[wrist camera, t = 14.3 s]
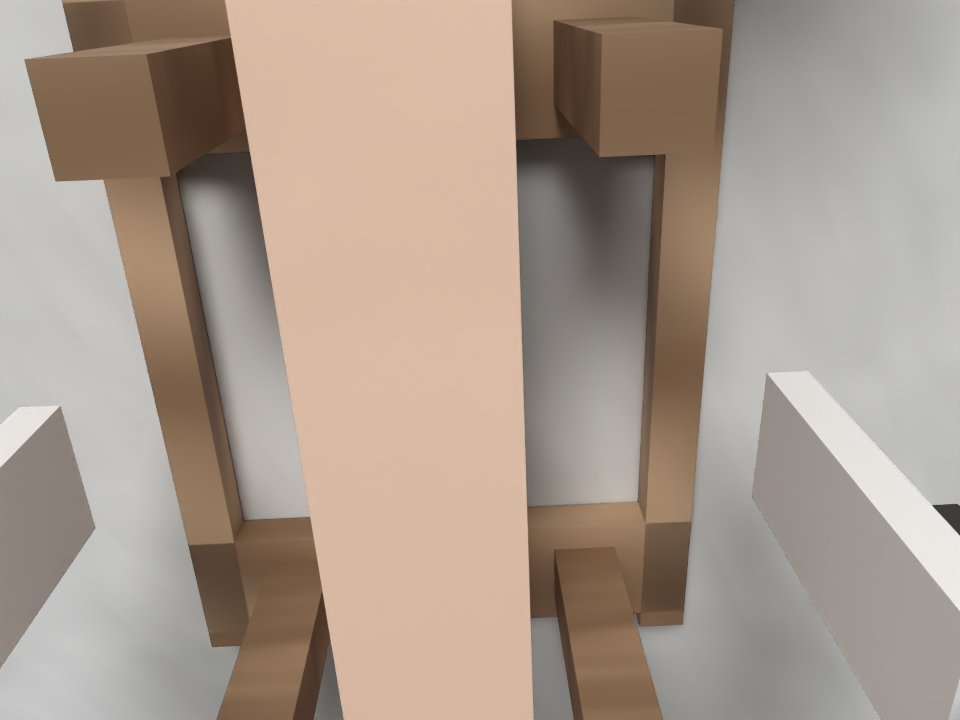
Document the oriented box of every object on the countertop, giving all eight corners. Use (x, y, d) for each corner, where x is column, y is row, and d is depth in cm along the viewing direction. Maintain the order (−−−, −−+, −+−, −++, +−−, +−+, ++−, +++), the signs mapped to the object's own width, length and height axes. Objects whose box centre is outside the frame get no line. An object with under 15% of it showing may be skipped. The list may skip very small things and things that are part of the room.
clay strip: (284, -64, 15) (210, -87, 11) (493, -75, 15) (508, -104, 11) (379, 653, 23) (359, 817, 18) (521, 645, 23) (536, 807, 18)
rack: (78, -25, 16) (-163, -36, 10) (723, -53, 17) (889, -82, 10) (221, 621, 24) (133, 855, 17) (674, 600, 24) (753, 824, 17)
